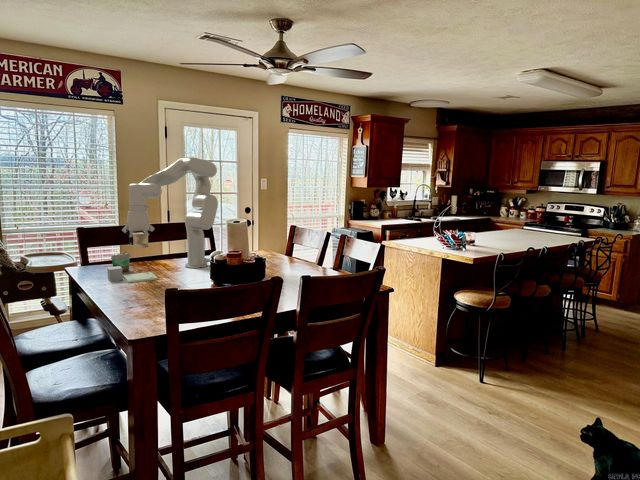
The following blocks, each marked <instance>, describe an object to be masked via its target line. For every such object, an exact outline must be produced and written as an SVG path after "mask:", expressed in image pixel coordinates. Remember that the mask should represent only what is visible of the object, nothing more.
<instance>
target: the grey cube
mask: <svg viewBox="0 0 640 480" xmlns="http://www.w3.org/2000/svg"><path fill="white" fill-rule="evenodd" d="M106 269H107V270H106V271H107V279H108V281H109V282H115V281H122V280H124V278H123V275H124V274H123V272H122V268H121V267H120V266H116V267H113V266H109V267H108V266H107V268H106Z"/></svg>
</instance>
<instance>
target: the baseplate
mask: <svg viewBox="0 0 640 480" xmlns="http://www.w3.org/2000/svg"><path fill="white" fill-rule="evenodd" d="M123 280H125V281H126V283H128V284H131V283H137V282H146V281H155V280H158V277H157V275H155V274H154V273H153V272H151V271H148V272H138V273H130V274H123Z"/></svg>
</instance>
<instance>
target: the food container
mask: <svg viewBox="0 0 640 480" xmlns="http://www.w3.org/2000/svg"><path fill="white" fill-rule="evenodd" d="M130 258H131V253H130V251H127V250H126V251H124V252H123V253H118V254H112V255H110V260H111V263H112V267H116V266H120V267H121V268H122V272H123V273H128V272H130Z"/></svg>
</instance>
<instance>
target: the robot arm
mask: <svg viewBox="0 0 640 480" xmlns="http://www.w3.org/2000/svg"><path fill="white" fill-rule="evenodd" d="M217 169H218V168H217V166H216V165H215V164H214V163H213V162H211V161H208V160H205V159H201V158H197V157H192V156H191V157H190V156H188V157H186V156H185V157H180V158H178V159H176V161H174V162H172V163H171V164H170V165H169V166H168V167H166V168H165V169H163V170H161V171H158V172H155V173H154V174H152V175H149V176H147V177H146V178H145V179H143V180H142V181H141V182H139V183H130V184H129V185H128V197H129V198H128V201H129V202H128V203H129V211H127V216H126V225H125V226H124V227H123V228H122V229H121V231H122V232H123V233H124V234H126V235H127V236H128V238H129V244H130V243H131V245H130V246H132V245H133V237H132V235H133V233H135V232H143V233H144V234H146V235H148V237H149V236H150V235H151V234H152V232H154V231H155V227H154V226H153V225H152V224H151V223H150V219H149V218H150V217H149V213H148V211H147V210H149V206H148V205H147V203H146V198H147V199H157V198H159V197H160V196H161V195H162V194H163V193H162V192H163V189H162V187H164V186H169V185H172V184H175V183H176V182H178V181H179V180H180V179H182V178H183V177H184V176H186V175H187V174H191V175H192V177H193V178H194V180H195V189H194V193H193V195H192V200H191V206H192V208H193V209H195V210H197V211H190V212H188V213H187V214H185V217H184V225H185V228H186V229H185V230H186V242H187V243H186V244H187V248H186V251H187V263H185V264H184V267H185V268H189V269H201V268H200V267H202V268H205V267H208V263H211V262H210V259H211V258H207V257H205V233H204V230H206V231H207V230H210V229H211V228H212V227H213V225H214V223H215V220H216V216H217V212H218V208H219V207H218V206H219V203H218V198H217V197H216V196H215V195H213V194H211V189H212V184H211V181H210V178H213V177H215V176H216V175H217V171H218V170H217ZM128 231H129V232H128Z"/></svg>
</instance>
